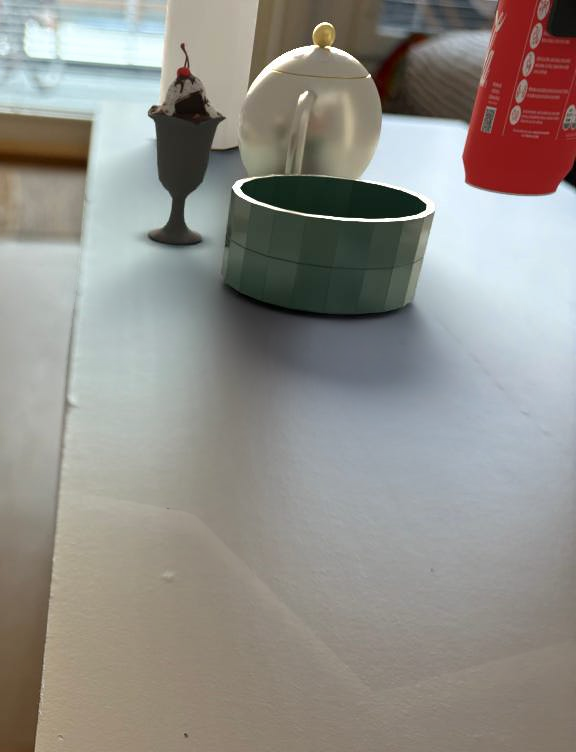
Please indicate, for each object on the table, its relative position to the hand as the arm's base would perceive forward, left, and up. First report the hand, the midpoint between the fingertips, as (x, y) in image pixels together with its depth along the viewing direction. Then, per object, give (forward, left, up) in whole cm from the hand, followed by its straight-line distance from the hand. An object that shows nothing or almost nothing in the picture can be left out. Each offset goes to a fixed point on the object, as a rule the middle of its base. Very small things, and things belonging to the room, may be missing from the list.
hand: (554, 24), depth 45 cm
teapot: (-2, -51, -20) cm, 55 cm away
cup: (+3, -89, -20) cm, 91 cm away
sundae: (+11, -41, -20) cm, 47 cm away
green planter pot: (+1, -27, -20) cm, 34 cm away
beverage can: (0, 0, -7) cm, 7 cm away
